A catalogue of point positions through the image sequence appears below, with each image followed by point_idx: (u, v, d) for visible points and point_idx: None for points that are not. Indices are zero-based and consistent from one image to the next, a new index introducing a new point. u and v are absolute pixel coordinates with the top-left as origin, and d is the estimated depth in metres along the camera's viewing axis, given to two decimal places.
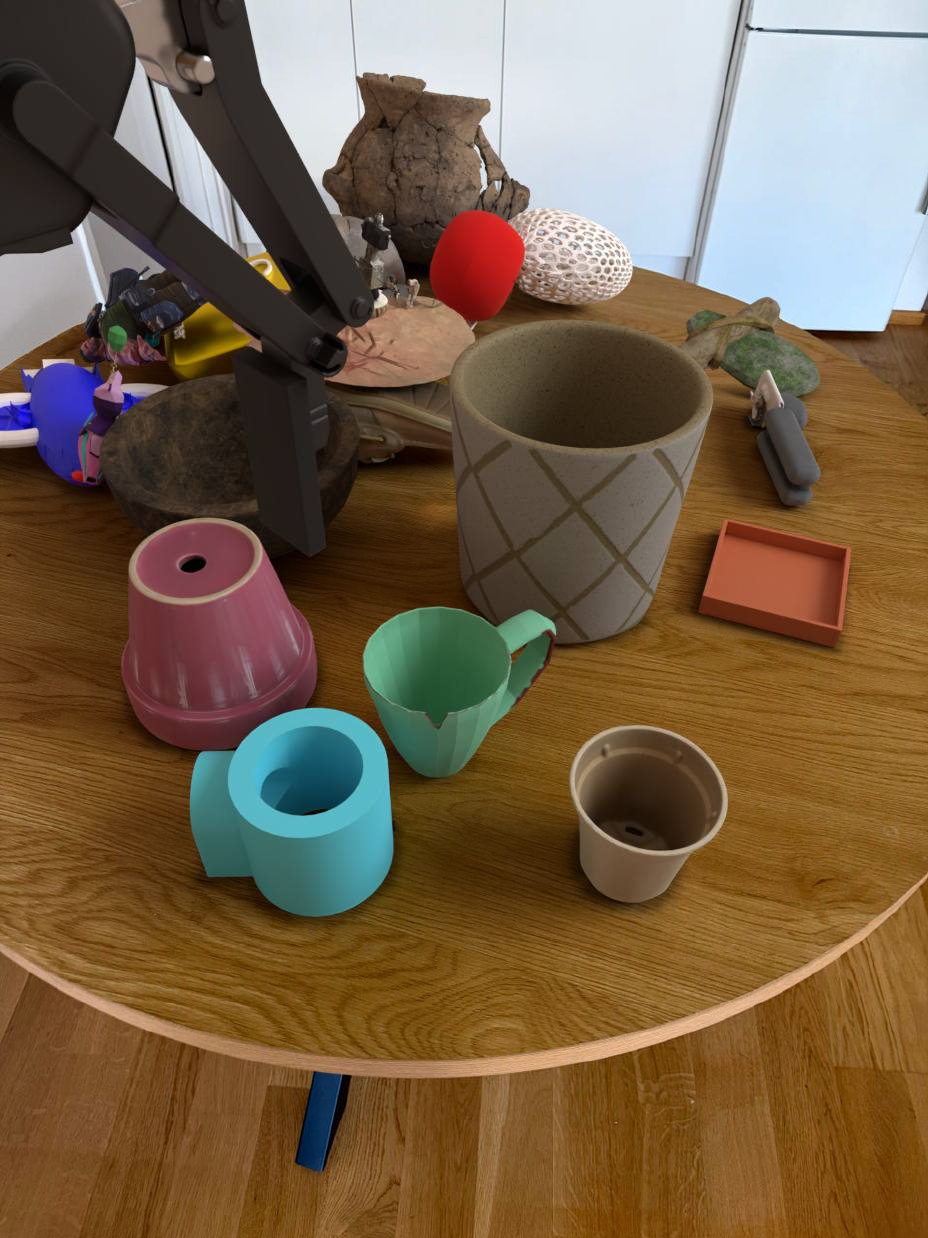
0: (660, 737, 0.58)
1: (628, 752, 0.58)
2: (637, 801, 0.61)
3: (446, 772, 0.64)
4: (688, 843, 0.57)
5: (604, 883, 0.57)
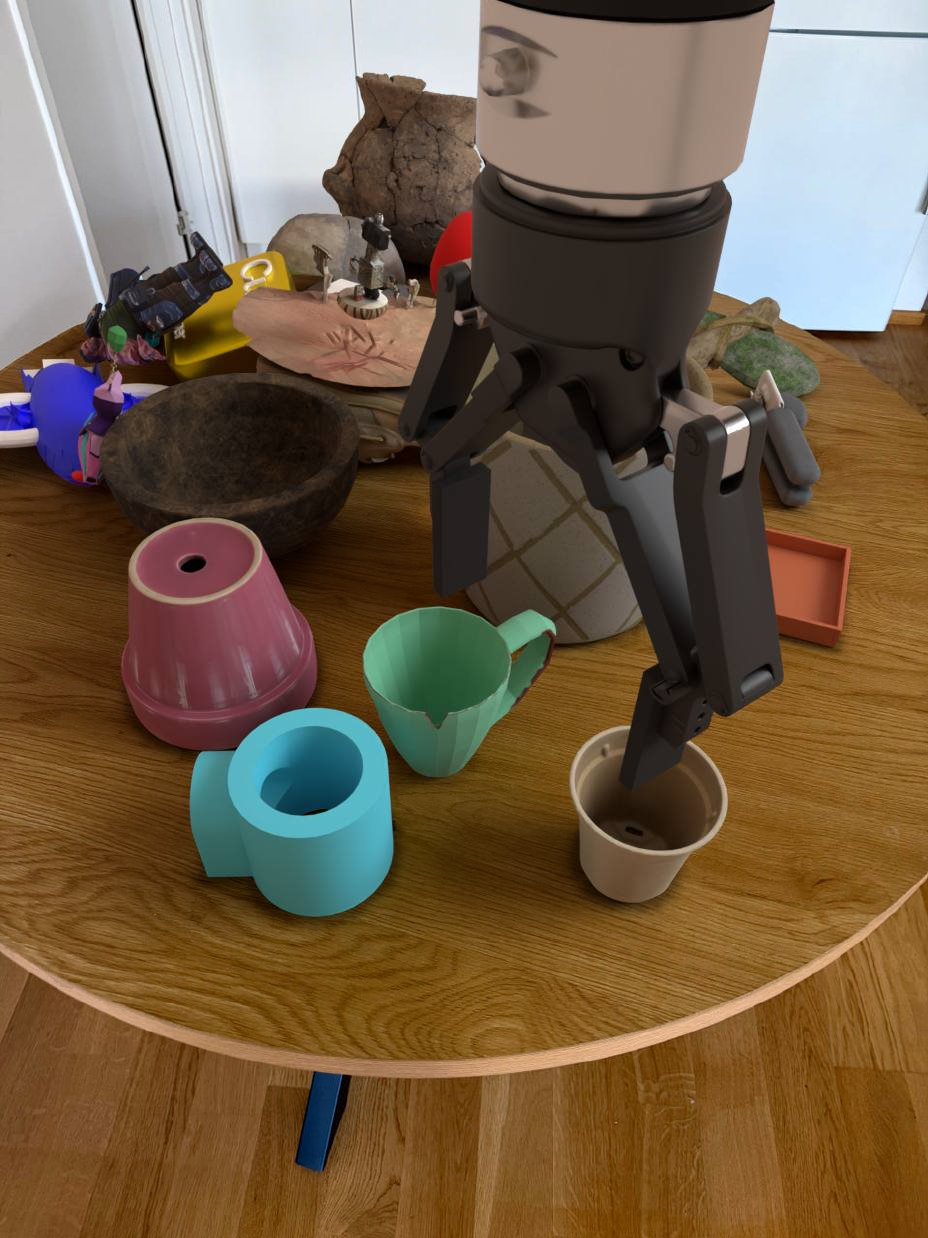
0: None
1: None
2: (637, 801, 0.61)
3: (446, 772, 0.64)
4: (688, 843, 0.57)
5: (604, 883, 0.57)
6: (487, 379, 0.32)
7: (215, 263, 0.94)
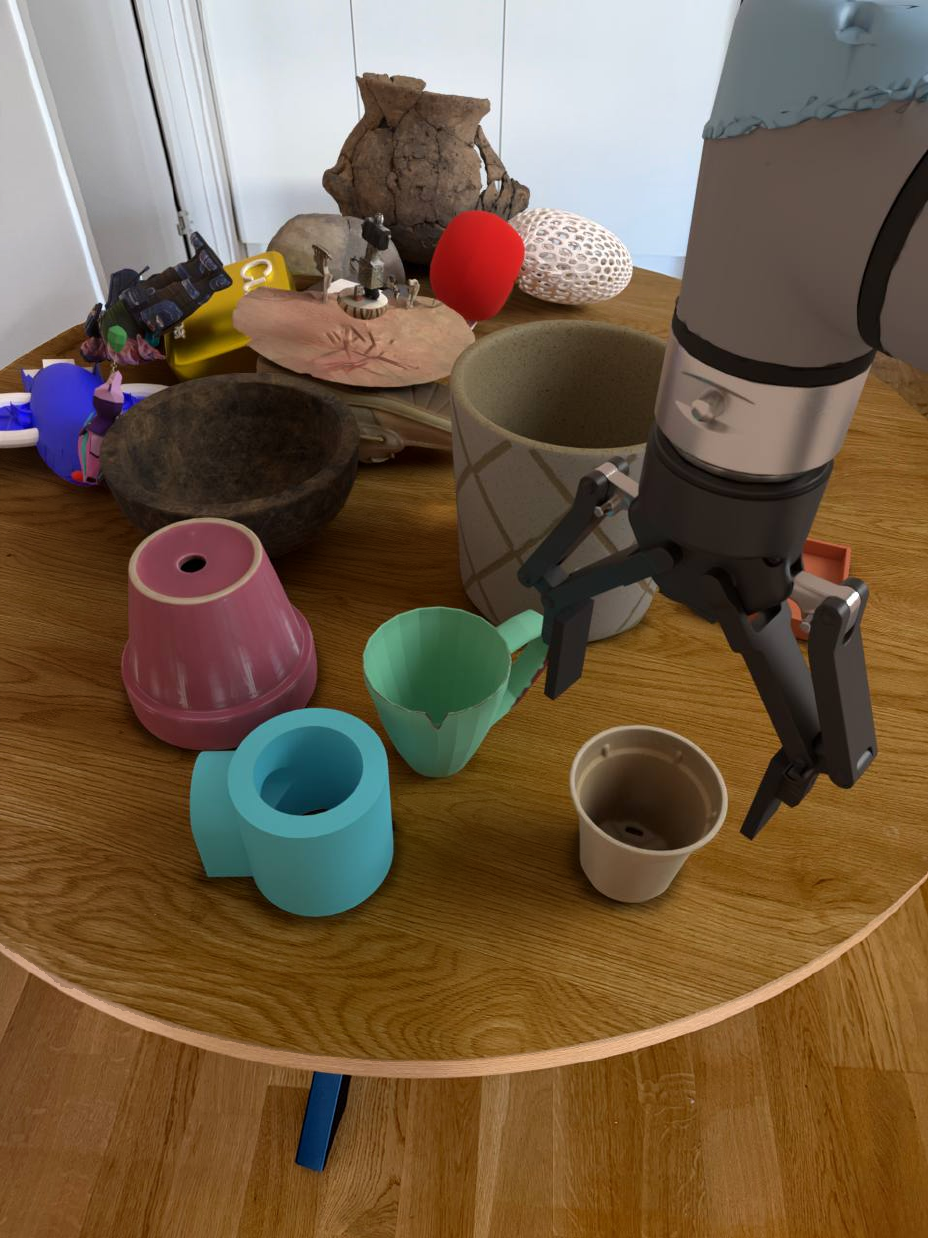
0: (660, 737, 0.58)
1: (628, 752, 0.58)
2: (637, 801, 0.61)
3: (446, 772, 0.64)
4: (688, 843, 0.57)
5: (604, 883, 0.57)
6: (632, 559, 0.43)
7: (215, 263, 0.94)
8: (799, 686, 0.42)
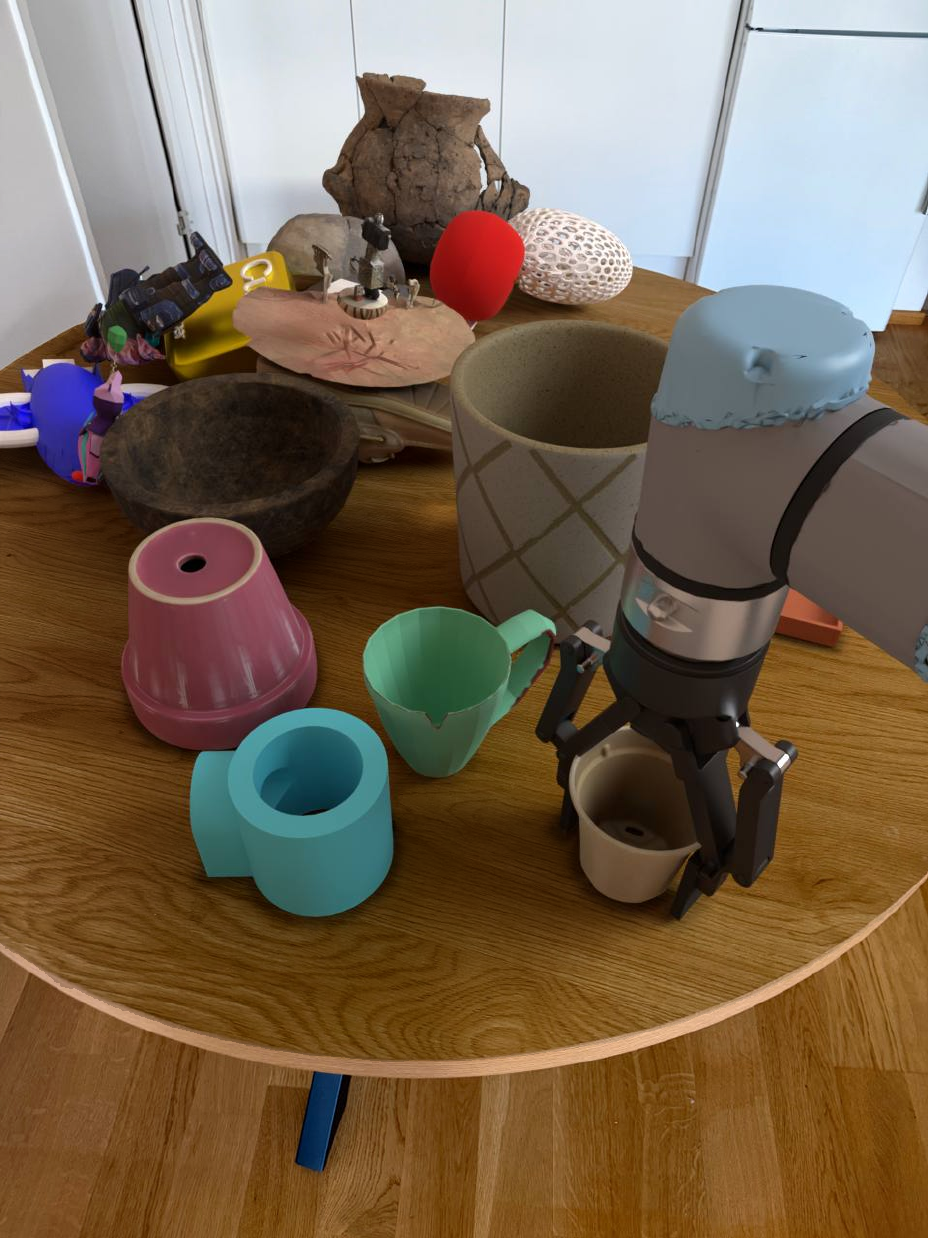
0: None
1: (627, 752, 0.58)
2: (637, 801, 0.61)
3: (446, 772, 0.64)
4: (688, 843, 0.57)
5: (604, 883, 0.57)
6: (611, 710, 0.50)
7: (215, 262, 0.94)
8: (723, 808, 0.51)
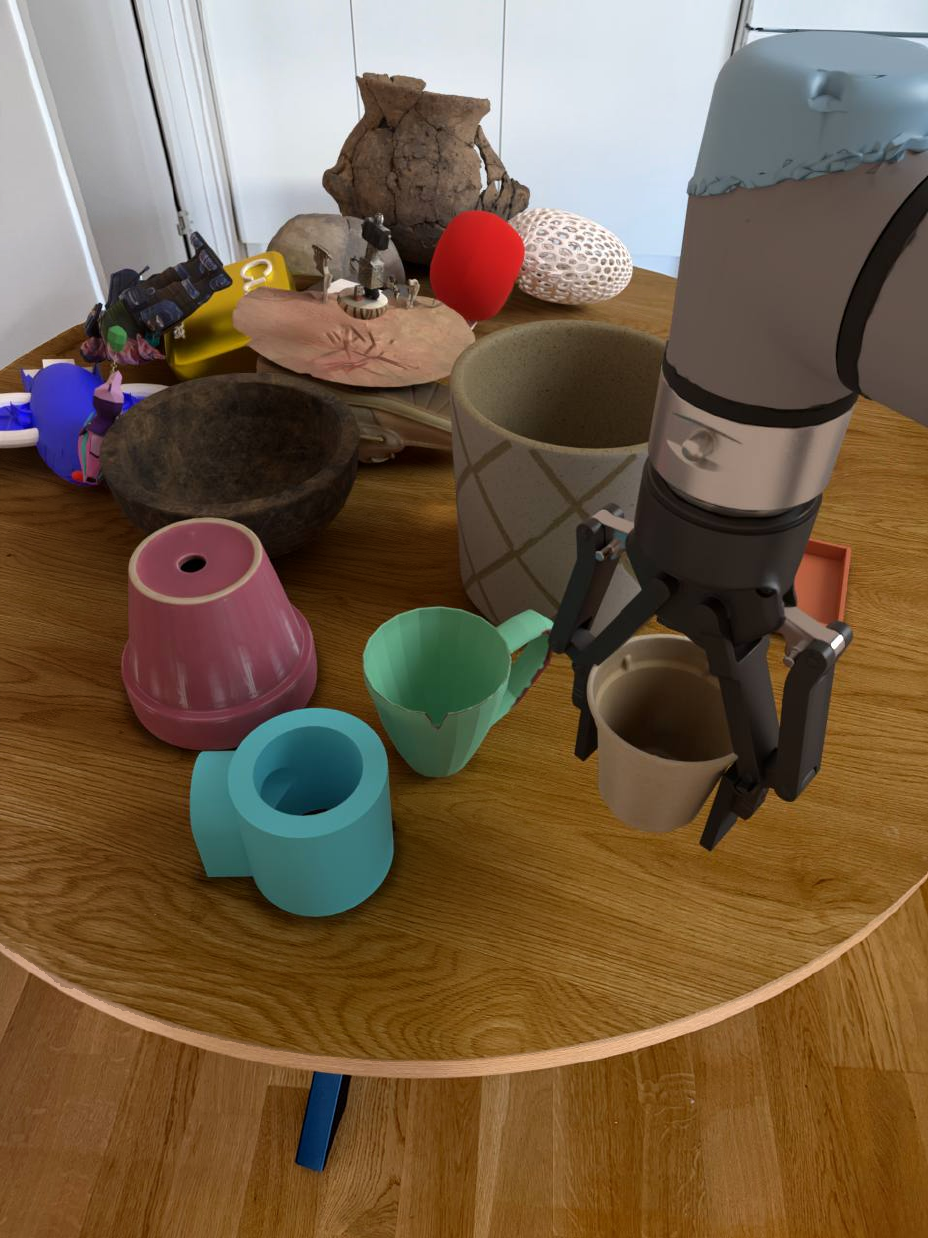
0: (688, 646, 0.52)
1: (651, 665, 0.52)
2: (661, 724, 0.55)
3: (446, 772, 0.64)
4: None
5: (626, 810, 0.51)
6: (635, 599, 0.44)
7: (215, 262, 0.94)
8: (763, 711, 0.45)
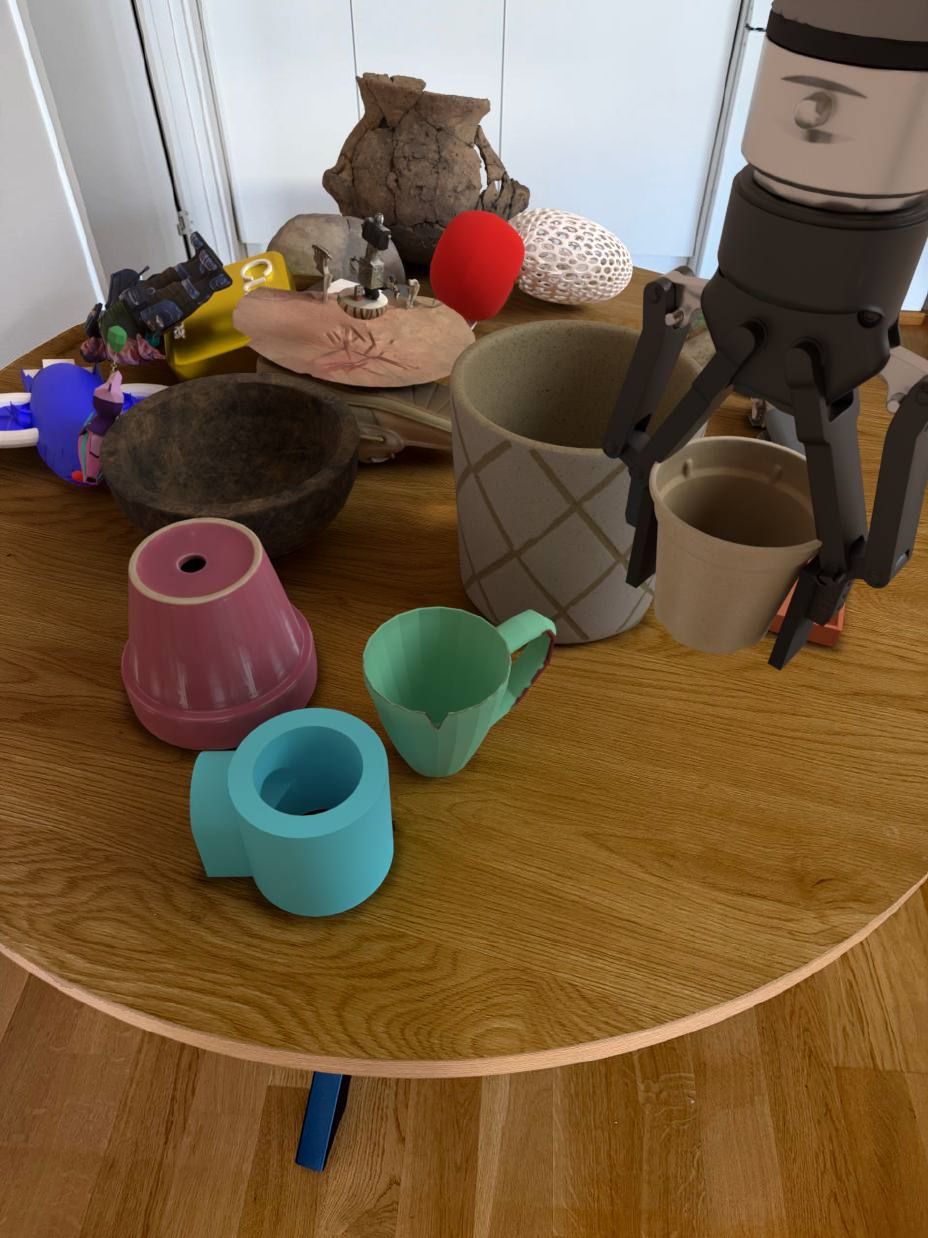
0: (754, 449, 0.47)
1: (713, 473, 0.48)
2: None
3: (446, 772, 0.64)
4: None
5: (689, 626, 0.47)
6: (711, 362, 0.40)
7: (215, 262, 0.94)
8: (851, 488, 0.40)
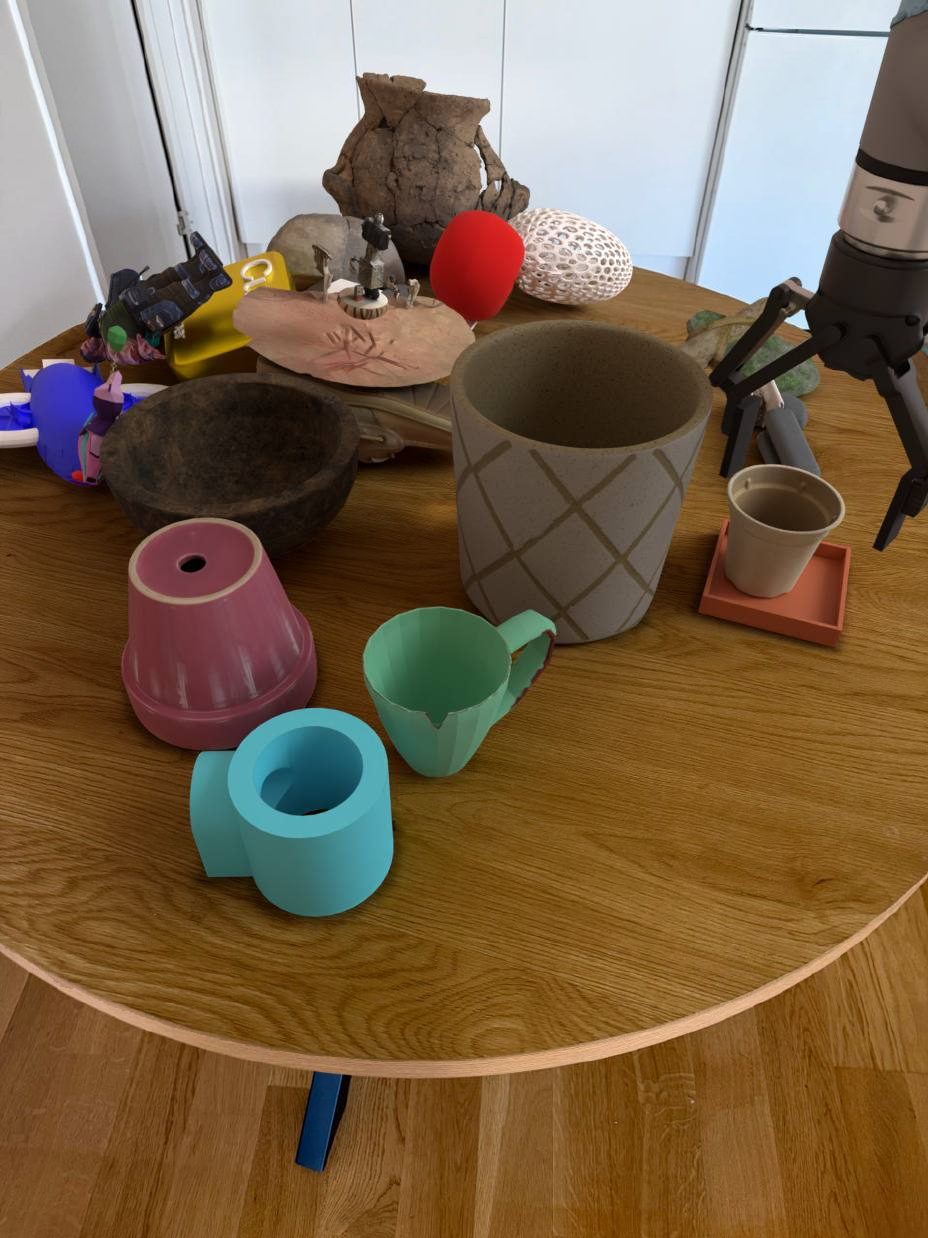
0: (789, 473, 0.78)
1: (763, 487, 0.78)
2: None
3: (446, 772, 0.64)
4: None
5: (748, 580, 0.77)
6: (808, 341, 0.64)
7: (215, 262, 0.94)
8: (922, 420, 0.63)
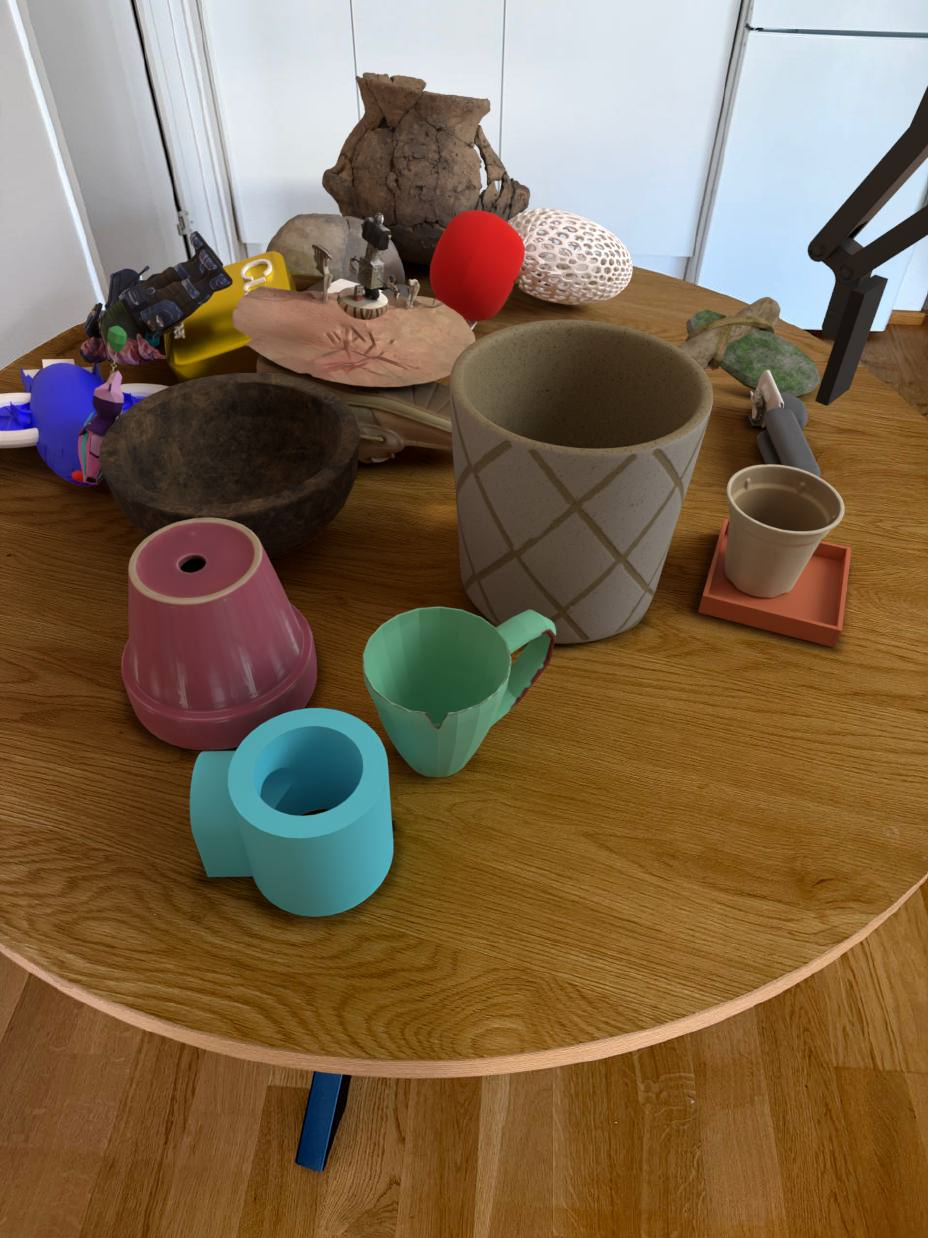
0: (788, 472, 0.78)
1: (762, 487, 0.78)
2: None
3: (446, 772, 0.64)
4: None
5: (747, 580, 0.77)
6: None
7: (215, 262, 0.94)
8: None
